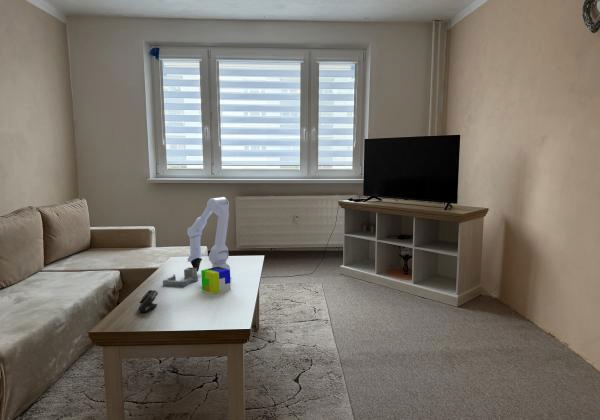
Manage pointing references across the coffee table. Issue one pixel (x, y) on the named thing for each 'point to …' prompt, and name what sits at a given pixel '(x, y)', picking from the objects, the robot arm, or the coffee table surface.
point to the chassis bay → (173, 282)
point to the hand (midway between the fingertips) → (196, 271)
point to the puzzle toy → (215, 280)
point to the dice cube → (190, 272)
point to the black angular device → (148, 301)
